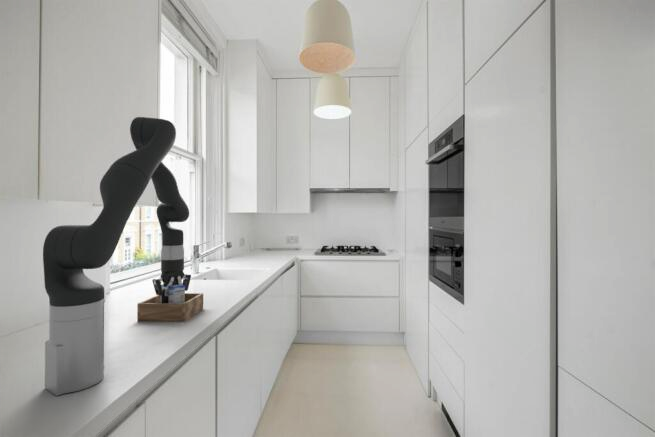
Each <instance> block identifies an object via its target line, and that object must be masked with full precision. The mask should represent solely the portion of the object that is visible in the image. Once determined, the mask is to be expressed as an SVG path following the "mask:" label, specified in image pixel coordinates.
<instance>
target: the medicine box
mask: <svg viewBox="0 0 655 437" xmlns="http://www.w3.org/2000/svg"><path fill="white" fill-rule="evenodd" d="M162 286H163V284H162V283H161V287H162ZM165 287H167V286H166V285H165ZM185 292H186V291H185V285H172V286H170V290H169V293H168V303H185ZM160 303H162V297H161V296H160Z"/></svg>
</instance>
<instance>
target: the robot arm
mask: <svg viewBox="0 0 655 437" xmlns="http://www.w3.org/2000/svg"><path fill="white" fill-rule="evenodd" d="M129 133H130V138H131V140H132V143H133V144H132V145H133V146H134V148H135V150H134V151H131V152H130V153H127V154H125V155H123V156H121V157H119V158H118V159H117V160H115V161H113V163H112V164H111V165H110V166H109V168H108V169H107V171H106V172H105V173H104V175H103V176H102V177H101V180H100V182H99V191H100V192H99V193H100V196H101V200H102V204H103V207H102V209H101V211H100V212H99V215H98V216H97V218H96V219H95V221H94V222H93V223H91V224H88V225H87V224H86V225H85V224H84V225H83V224H82V225H80V224H77V225H76V224H75V225H72V224H68V225H67V224H66V225H57V226H55V227H53V228H52V229H50V231H48V233H47V235H46V236H45V240H44V243H43V247H42V248H43V249H42V262H43V263H42V265H43V275H44V276H43V279H44V288H45V292H46V294H47V296H48V298H49V307H48V308H49V310H48V311H49V313H48V314H49V318H48V319H49V322H48V323H49V326H48V328H49V330H48V332H49V334H48V338H49V339H48V340H46V341H45V342H44V388H45V389H46V390H47V391H49V392H50V393H52V394H53V395H55V396H56V397H57V396H60V395H63V394H67V393H73V392H79V391H82V390H85V389H89V388H90V387H92V386H95V385H97V384H98V383H100V382H101V381H102V380H103V379H104V378H105V288H104V286H103V284H101V283H99V282H96V281H94V280H93V279H91V278H89V277H88V276H86V274H85V273H84V270H93V269H94V270H95V269H100V268H102V267H104V266H105V265H106V264H107V263H108V262H109V261H110V260H111V258H112V257H113V254H115V250H116V249H117V246H118V245H119V241H120V239H121V237H122V233H123V232H124V229H125V228H126V225H127V222H128V221H129V219H130V216H131V214H132V213H133V211H134V208H135V207H136V205H137V203H138V202H139V200H140V198H141V197H142V196H143V194H144V192H145V190H146V188H147V187H148V185H149V182H151V181H152V184H153V187H154V191H155V194H156V197H157V199H158V201H159V204H158V205H157V208H156V216H157V219H158V223H159V227H160V231H161V250H160V251H161V252H160V271H161V274H160V277H158V278H153V279H152V284H153V287H154V288H153V289H154V292H155V294H156V295H155V296H157V295H160V296H161V297H162V303H168V293H169V290H170V286H172V285H185V292H187V291H188V290H189V286H190V284H191V278H192V275H191V274H189V273H185V272H184V270H185V247H184V231H183V230H182V229H181V228H175V227H173V226H171V224H170V223H185V222H186V221H187V220H188V219H189V216H190V209H189V206H188V204H187V203H186V201H185V200H184V198H183V196H182V195H181V193H180V190H179V186H178V183H177V179H176V177H175V176H174V174H173V173H172V171H171V169H169V168H168V166H166V165H165V164H164V163H163V162H162V161H163V160H164V159H165V158H166V156H167V155H168V154H169V152H170V151H171V150H172V148H173V147H174V144H175V142H176V139H177V130H176V127H175V125H174V123H172V121H170V120H167V119H163V118H156V117H146V116H136V117H134V118H133V119H132V120H131V123H130V127H129ZM150 180H151V181H150ZM182 280H183V281H182ZM162 283H163V286H162V287H161V285H162ZM165 285H166V286H167V287H165Z"/></svg>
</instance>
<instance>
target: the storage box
mask: <svg viewBox="0 0 655 437" xmlns="http://www.w3.org/2000/svg"><path fill="white" fill-rule="evenodd" d="M202 310H204V293H203V292H202V293H201V292H199V293H197V292H186V293H185V303H160V295H154V296H152V297H149V298H147V299H145V300H143V301H140V302H138V303H137V322H148V323H149V322H154V323H155V322H157V323H158V322H161V323H163V322H166V323H167V322H169V323H170V322H171V323H172V322H173V323H184V322H186V321H188V320H189V319H190V318H192V317H193V316H195V315H197V314H198V313H199V312H202Z"/></svg>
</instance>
